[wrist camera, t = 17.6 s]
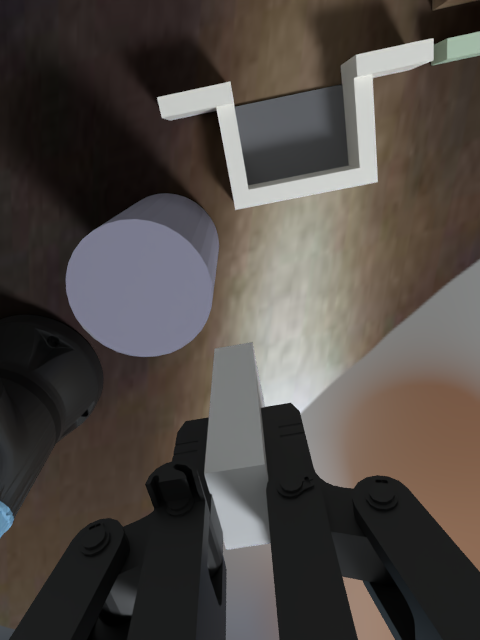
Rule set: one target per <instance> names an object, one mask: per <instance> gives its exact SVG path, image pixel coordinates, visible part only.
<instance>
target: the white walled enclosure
mask: <svg viewBox="0 0 480 640" xmlns="http://www.w3.org/2000/svg"><path fill="white" fill-rule="evenodd" d="M433 60H434V38H431V39H427V40H422V41H417V42H413V43H408V44H403V45H399V46H394V47H389V48H385V49H380V50H375V51H371V52H366V53H361V54H357V55H355V56H353V57H352V58H350V59H349V60H348V61H346V62H345V63H343V64H342V65H341V78H342V84H341V85H336V86H331V87H327V88H322V89H317V90H312V91H308V92H303V93H298V94H293V95H289V96H284V97H279V98H274V99H270V100H265V101H260V102H255V103H251V104H246V105H241V106H236V107H234V100H233V95H232V89H231V83H230V82H226V83H221V84H217V85H212V86H207V87H203V88H198V89H194V90H189V91H184V92H180V93H175V94H170V95H166V96H161V97H157V99H158V104H159V108H160V112H161V116H162V118H164V119H167V120H170V121H171V120H175V119H180V118H185V117H190V116H194V115H199V114H204V113H209V112H213V111H217V114H218V120H219V125H220V130H221V136H222V141H223V146H224V151H225V157H226V162H227V167H228V173H229V178H230V183H231V189H232V194H233V199H234V205H235V210H237V209H242V208H247V207H252V206H258V205H263V204H268V203H273V202H278V201H283V200H288V199H293V198H299V197H304V196H309V195H314V194H319V193H324V192H329V191H334V190H339V189H345V188H350V187H355V186H360V185H365V184H370V183H375V182H378V177H377V157H376V137H375V118H374V98H373V78H375V77H380V76H384V75H389V74H394V73H399V72H403V71H408V70H411V69H413V68H416V67H418V66H421V65H423V64H426V63H428V62H431V61H433Z"/></svg>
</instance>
